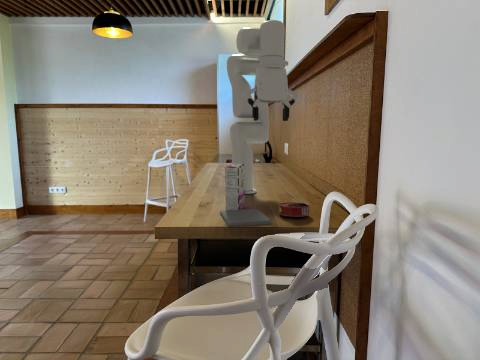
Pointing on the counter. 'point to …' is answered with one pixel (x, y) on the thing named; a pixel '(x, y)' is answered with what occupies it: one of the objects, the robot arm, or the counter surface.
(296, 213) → the canned food
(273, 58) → the robot arm
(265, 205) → the counter surface
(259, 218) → the mat
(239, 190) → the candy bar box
